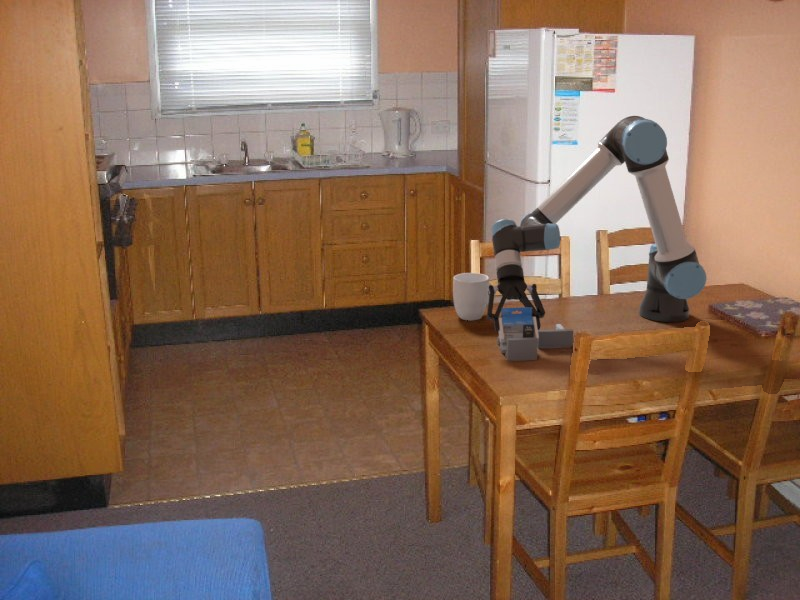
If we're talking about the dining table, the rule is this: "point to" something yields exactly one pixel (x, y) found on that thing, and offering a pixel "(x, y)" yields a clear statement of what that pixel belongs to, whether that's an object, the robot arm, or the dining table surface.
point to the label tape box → (516, 324)
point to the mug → (470, 295)
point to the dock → (555, 338)
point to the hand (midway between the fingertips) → (519, 340)
